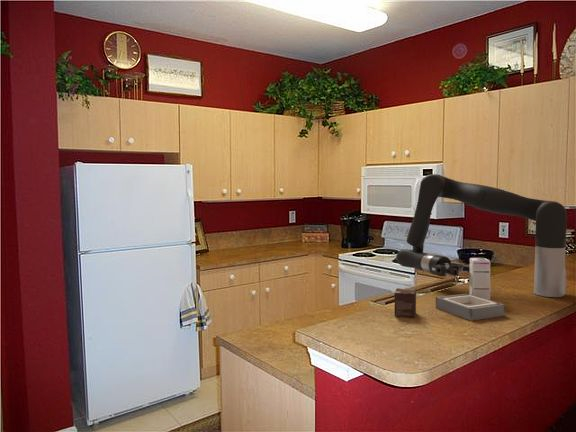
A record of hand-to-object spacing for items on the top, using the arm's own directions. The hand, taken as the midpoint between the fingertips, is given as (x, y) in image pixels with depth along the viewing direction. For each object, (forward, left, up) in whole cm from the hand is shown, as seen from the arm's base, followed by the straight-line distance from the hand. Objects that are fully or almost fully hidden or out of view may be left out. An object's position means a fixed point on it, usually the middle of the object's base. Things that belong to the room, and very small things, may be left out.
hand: (467, 272), depth 155 cm
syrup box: (0, +6, -9) cm, 11 cm away
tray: (+12, +14, -9) cm, 20 cm away
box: (+32, +9, -9) cm, 35 cm away
